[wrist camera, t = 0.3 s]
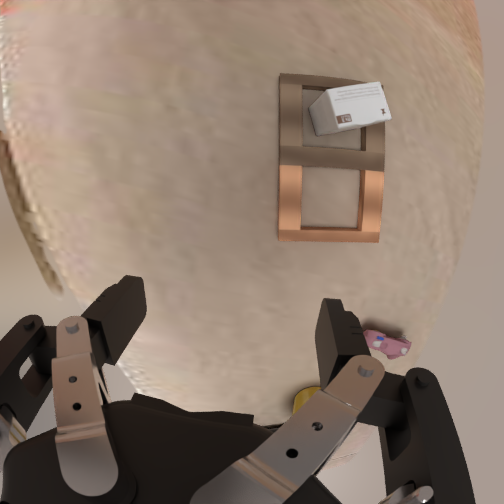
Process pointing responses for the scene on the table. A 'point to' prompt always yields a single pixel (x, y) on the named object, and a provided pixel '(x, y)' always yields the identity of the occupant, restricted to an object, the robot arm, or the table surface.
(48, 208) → the table surface
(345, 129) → the skincare box
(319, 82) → the brown flat frame
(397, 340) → the video game controller
